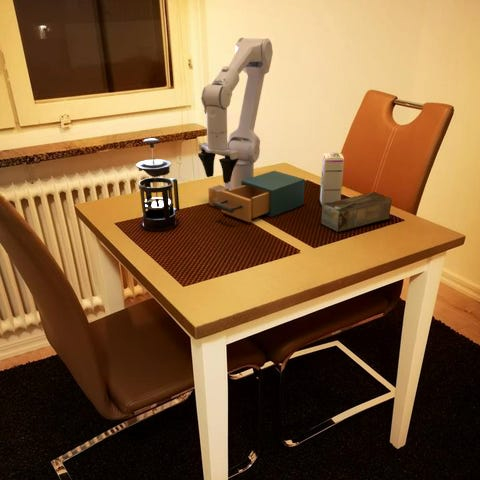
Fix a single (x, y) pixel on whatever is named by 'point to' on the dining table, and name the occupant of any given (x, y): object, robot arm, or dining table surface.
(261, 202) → the drawer
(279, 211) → the cabinet
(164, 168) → the french press
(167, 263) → the dining table surface
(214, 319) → the dining table surface
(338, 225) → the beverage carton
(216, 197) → the block
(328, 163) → the syrup box
